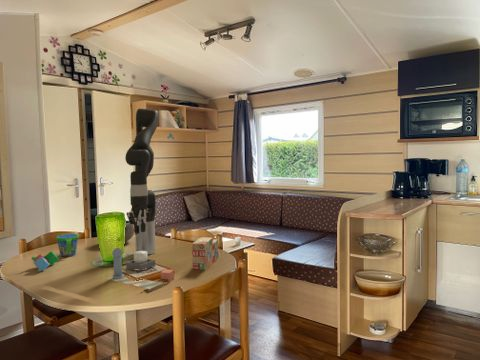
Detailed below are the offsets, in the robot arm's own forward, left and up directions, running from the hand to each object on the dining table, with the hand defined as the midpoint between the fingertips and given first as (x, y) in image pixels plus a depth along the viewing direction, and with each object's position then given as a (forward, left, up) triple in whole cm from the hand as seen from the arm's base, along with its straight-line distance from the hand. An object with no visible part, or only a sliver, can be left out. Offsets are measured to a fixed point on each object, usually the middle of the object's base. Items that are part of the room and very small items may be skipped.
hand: (140, 232), depth 169 cm
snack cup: (-52, 0, -17) cm, 55 cm away
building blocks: (-41, -19, -17) cm, 48 cm away
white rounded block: (0, 0, -14) cm, 14 cm away
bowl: (-49, +31, -17) cm, 61 cm away
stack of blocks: (+20, +23, -18) cm, 35 cm away
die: (+20, -5, -17) cm, 27 cm away
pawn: (+2, -15, -16) cm, 22 cm away
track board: (+11, -15, -17) cm, 25 cm away
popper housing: (0, 0, -17) cm, 17 cm away
